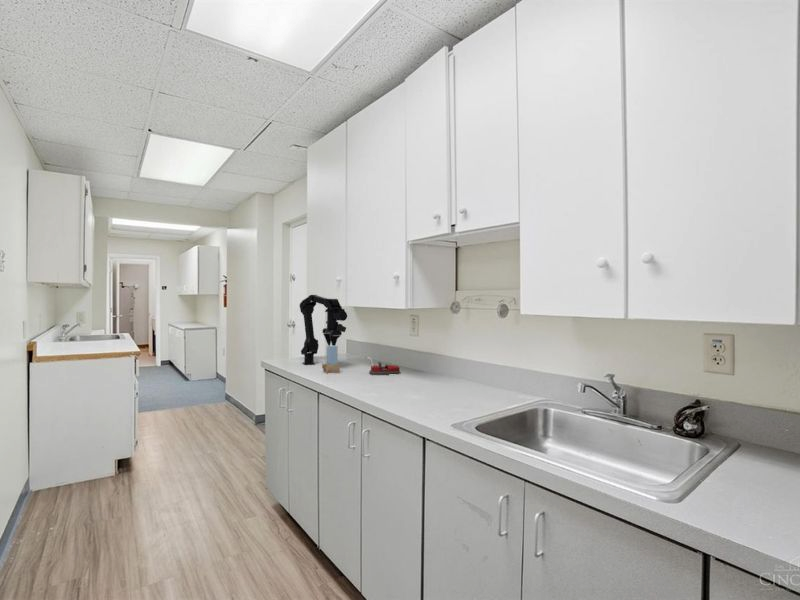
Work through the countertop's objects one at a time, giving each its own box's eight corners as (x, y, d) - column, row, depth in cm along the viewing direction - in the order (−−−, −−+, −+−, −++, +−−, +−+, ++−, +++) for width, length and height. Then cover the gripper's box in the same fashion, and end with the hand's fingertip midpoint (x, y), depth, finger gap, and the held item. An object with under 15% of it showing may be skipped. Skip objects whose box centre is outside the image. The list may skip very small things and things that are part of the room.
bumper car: (402, 375, 234) (402, 357, 234) (367, 376, 228) (367, 357, 228) (397, 372, 244) (397, 354, 243) (363, 373, 238) (363, 355, 238)
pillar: (326, 363, 236) (326, 346, 236) (333, 363, 239) (333, 345, 239) (330, 365, 233) (330, 346, 232) (337, 364, 235) (337, 346, 235)
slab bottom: (323, 372, 237) (323, 368, 237) (335, 371, 240) (335, 367, 240) (326, 374, 231) (326, 370, 231) (338, 373, 234) (339, 369, 234)
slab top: (322, 368, 236) (322, 363, 236) (332, 367, 240) (333, 362, 240) (328, 370, 231) (328, 365, 231) (339, 368, 235) (339, 364, 235)
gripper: (350, 320, 244) (349, 347, 244) (340, 319, 261) (339, 344, 261) (331, 320, 239) (331, 348, 239) (322, 319, 256) (321, 344, 256)
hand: (331, 346), depth 249 cm, fingers open, 9 cm apart
